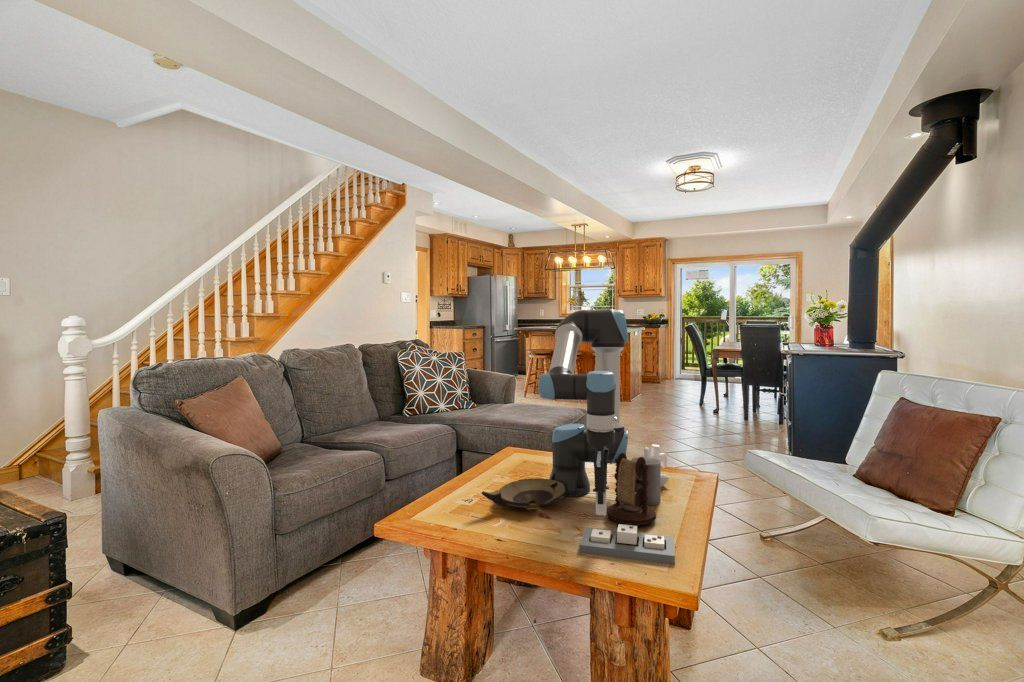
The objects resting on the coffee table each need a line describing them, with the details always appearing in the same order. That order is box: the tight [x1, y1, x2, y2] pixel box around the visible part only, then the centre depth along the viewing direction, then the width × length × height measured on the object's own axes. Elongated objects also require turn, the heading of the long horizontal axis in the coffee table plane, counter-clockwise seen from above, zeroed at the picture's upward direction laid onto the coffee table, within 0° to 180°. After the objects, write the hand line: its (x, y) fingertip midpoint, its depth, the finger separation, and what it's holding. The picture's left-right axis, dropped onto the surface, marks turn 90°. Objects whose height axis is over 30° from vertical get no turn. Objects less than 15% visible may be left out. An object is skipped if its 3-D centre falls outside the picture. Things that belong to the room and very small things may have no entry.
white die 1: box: [591, 529, 612, 543], centre depth 138 cm, size 5×5×3 cm
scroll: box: [606, 453, 657, 529], centre depth 155 cm, size 15×15×20 cm
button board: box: [578, 526, 676, 564], centre depth 136 cm, size 24×12×2 cm, turn 74°
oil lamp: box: [481, 477, 566, 509], centre depth 168 cm, size 22×30×8 cm
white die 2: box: [616, 523, 638, 546], centre depth 136 cm, size 5×5×3 cm
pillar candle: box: [631, 456, 662, 506], centre depth 171 cm, size 10×10×15 cm
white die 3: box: [643, 534, 665, 550], centre depth 134 cm, size 5×5×3 cm
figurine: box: [643, 443, 670, 488], centre depth 186 cm, size 7×9×15 cm
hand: (601, 513), depth 138 cm, fingers closed
